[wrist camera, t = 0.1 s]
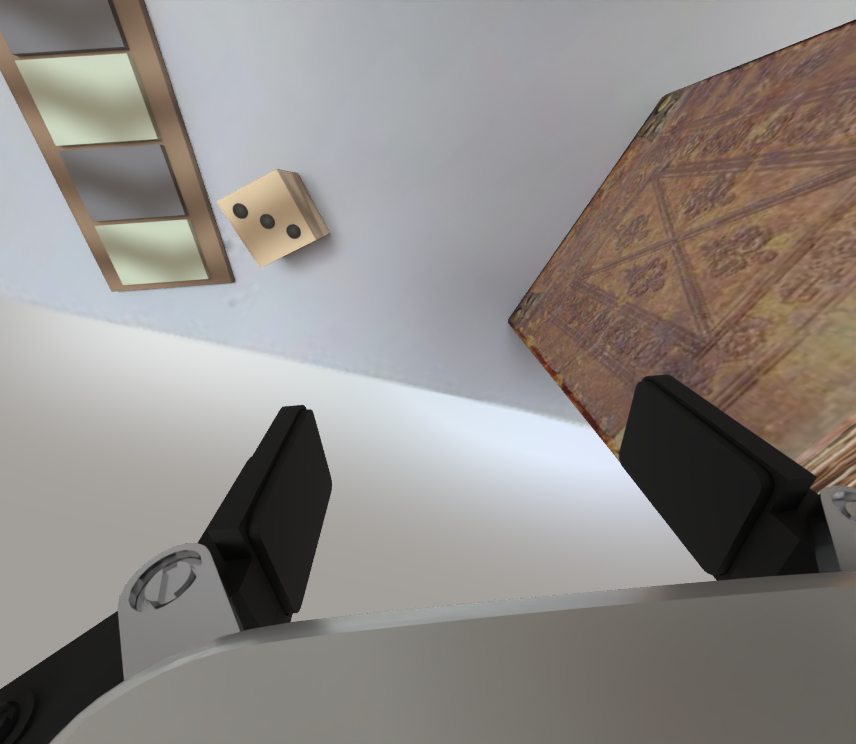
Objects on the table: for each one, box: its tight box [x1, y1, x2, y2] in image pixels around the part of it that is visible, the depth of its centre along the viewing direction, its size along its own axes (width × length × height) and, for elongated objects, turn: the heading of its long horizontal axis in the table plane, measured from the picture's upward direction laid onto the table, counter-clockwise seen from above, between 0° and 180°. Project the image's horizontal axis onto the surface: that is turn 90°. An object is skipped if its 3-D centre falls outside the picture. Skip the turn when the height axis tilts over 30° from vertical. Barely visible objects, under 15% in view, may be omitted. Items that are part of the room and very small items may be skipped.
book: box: [508, 20, 856, 494], centre depth 25 cm, size 25×9×30 cm, turn 151°
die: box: [217, 169, 329, 268], centre depth 32 cm, size 6×6×6 cm
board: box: [0, 0, 235, 292], centre depth 30 cm, size 32×13×1 cm, turn 4°
